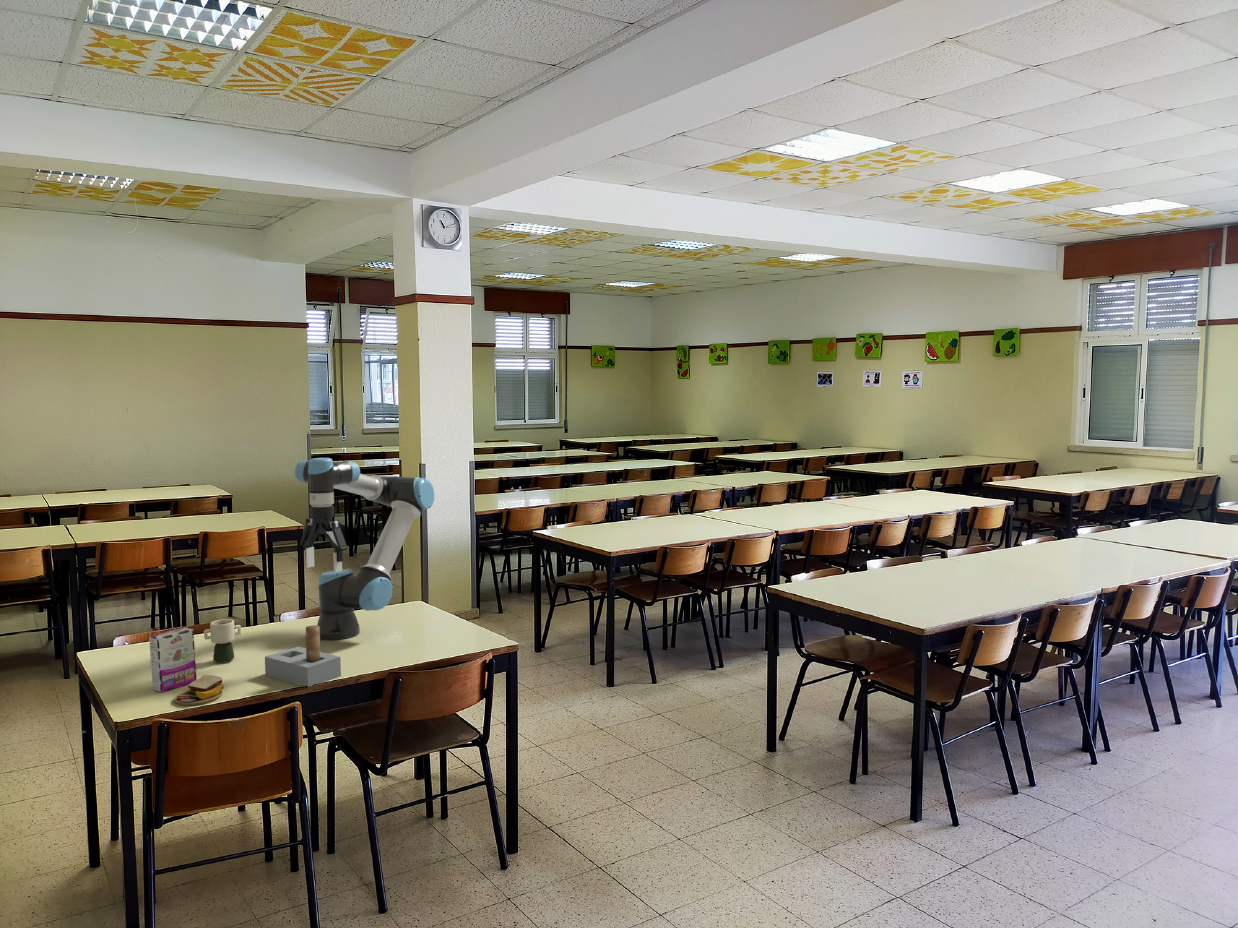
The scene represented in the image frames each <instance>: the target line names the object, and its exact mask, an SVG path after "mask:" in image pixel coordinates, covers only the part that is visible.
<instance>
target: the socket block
mask: <svg viewBox="0 0 1238 928" xmlns="http://www.w3.org/2000/svg"><path fill="white" fill-rule="evenodd" d="M341 667H342V666H341V656H338V655H335V654H329V653H326V652H321V651H320V661H317V662H314V663H309V662H306V647H301V646H296V647H292V648H289V649H285V650H282V651H279V652H276V653H275V652H274V653H272V654H269V655H266V656H264V668H265V669H264V671H265V676H266V677H268V678H273V679H277V680H280V681H284V682H286V683H287V682H288V683H291V684H295V685H298V684H300V685H299V686H301V685H304V686H303V687H305V686H308V687H307V688H310V687H309V686H311V687H313V686H312V685H314V684H317V685H319V684H322V683H325V682H328V681H330V680H333V679H336V678H338V676H339V677H342V669H341ZM324 681H325V682H324ZM318 683H319V684H318ZM314 686H315V685H314Z"/></svg>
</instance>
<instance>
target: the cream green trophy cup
mask: <svg viewBox="0 0 1238 928" xmlns="http://www.w3.org/2000/svg"><path fill="white" fill-rule="evenodd" d="M209 627H210V628H207V629H204V630H203V637H204V640H206V641H207V640H210V641H211V643H212V644H214V647H213V648H214V649H213V658H212V659H213V662H217V663H227V662H230V661H232V660H234V659H235V652H234V646H233V644H232V642H233V641H234V640H235V637H236V636H239V635H241V634H242V626H241V625H240V624H236V625H235V619H234V620H233V619H229V618H227V619H226V618H224V619H223V618H222V619H217V620H214V621H213V620H212V621H211V622H210V624H209ZM235 629H237V632H235ZM208 633H210V635H209V634H208Z"/></svg>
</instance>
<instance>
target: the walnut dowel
mask: <svg viewBox="0 0 1238 928" xmlns="http://www.w3.org/2000/svg"><path fill="white" fill-rule="evenodd" d="M305 648H306V662H309V663H314V662H317V661H320V652H321V639H320V626H318V625H317V624H316V625H315V624H313V625H307V626H306V627H305Z"/></svg>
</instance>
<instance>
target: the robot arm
mask: <svg viewBox="0 0 1238 928" xmlns="http://www.w3.org/2000/svg"><path fill="white" fill-rule="evenodd" d="M294 476H295V478H296V480H298V481H299V482H301V483H306V484H308V485H309V490H308V491H309V492H308V493H309V505H310V507H309V516H310V518H309V517H308V518H306V519H305V526H304V529H303V532H302V536H301V539H300V542H299V545H300V546H302V547H303V548H304V553H305V554H304V556H305V557H304V558H305V568H306V569H309V568H314V567H315V547H314V543H315V541H316V540H317V538H318V536H319V535H320V534H321V535H324V536H325V537H326V538H327V539H328V541H329V542H330V544H331V547H332V548H333V550H334V551H333V552H332V553H333V555H332V556H333V570H329V571H325V572H323V573H321V574H320V575H319V577H318V597H319V598H318V601H319V616H318V619H317V624H316V625H318V626H320V640H327V641H334V640H335V641H336V640H344V639H345V640H346V639H349V638H354V637H355V636H358V635H359V634H360V631H361V628H360V624H359V621H358V619H357V616H356V614H355V610H354V609H356V610H364V611H379V610H382V609H384V607H386V606H387V605H388V603H389V602H390V601H391V598H392V595H393V588H394V587H393V584H392V577H391V574H390V573H391V571H392V569H393V566H394V564H395V562H396V560H397V557H398V555H399V553H400V551H401V549H402V547H403V544H404V542H405V540H406V538H407V535H408V533H409V531H410V529H411V527H412V525H413V523H414V521H415V519H418V518H420V517H421V516H422V513H423V511H424V510H428V509H430V508H431V507H432V506H433V504H434V502H435V490H434V489H435V488H434V487H433V484H432V482H431V481H430V480H429V479H427V478H425V477H419V476H418V477H417V476H416V477H410V476H383V475H382V476H380V475H375V474H372V475H366V474H363V473H361V468H360V466H359V465H358V464H357V462H356V461H352V460H344V461H333V459H332V458H330V457H316V458H315V457H314V458H311V459H309V460H307V459H306V460H301V461H299V462H297V464H296V465H295V468H294ZM334 489H337V490H340V491H344V492H348V493H351V494H355V495H359V496H362V497H363V498H364V499H366V500H368V501H372V502H375V503H378V504H382V505H384V506H387V507H391V508H392V510H391V512H390V514H389V517H388V519H387V521H386V523H385V525H384V528H383V529H382V532H381V534H380V536H379V538H378V540H377V542H376V544H375V546H374V548H373V551H372V553H371V554H370V557H369V559H368V561H367V563H366V564H365V565H361V566H360V568H359V570H358V571H357V574H354V571H353V569H352V568H343V561H344V559H343V558H344V557H343V556H344V555H343V552H344V551H347V550H348V545H347V543H346V540H345V537H344V534H343V531H342V529H341V525H340V523H341V522H340V521H339V520H336V521H333V518H334V516H335V506H334V504H335V494H334V493H335V492H334Z"/></svg>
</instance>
